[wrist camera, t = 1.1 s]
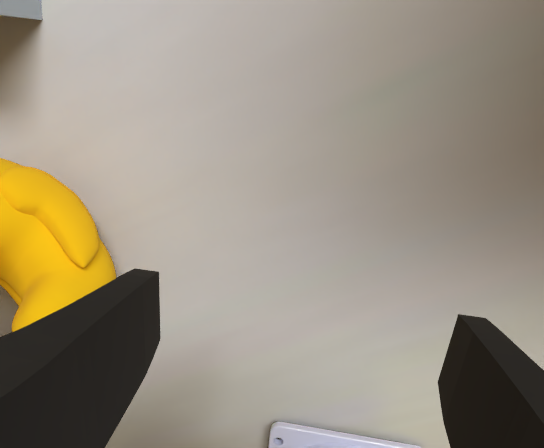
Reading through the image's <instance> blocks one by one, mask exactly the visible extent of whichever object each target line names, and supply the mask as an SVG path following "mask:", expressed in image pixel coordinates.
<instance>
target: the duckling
mask: <svg viewBox="0 0 544 448" xmlns="http://www.w3.org/2000/svg"><path fill="white" fill-rule="evenodd" d="M114 279H116V272H115V268H114V265H113V262H112V259H111V256H110V254H109V252H108V251H107V249H106V247H105V246H104V244H103V243H102V241H101V240H100V238H99V236H98V231H97V228H96V225H95V223H94V221H93V219H92V217H91V215H90V213H89V212H88V210H87V208H86V207H85V206H84V204H83V203H82V201H81V200H80V199H79V197H78V196H77V195H76V194H75V193H74V192H73V191H72V190H70V189H69V188H68V187H66V186H65V185H64V184H62V183H61V182H60V181H58V180H57V179H55V178H54V177H53V176H51V175H50V174H48V173H46V172H44V171H42V170H39V169H36V168H32V167H25V166H22V165H19V164H17V163H14V162H11V161H8V160H5V159H2V158H0V285H1V286H2V287H3V288H4V289H5V290H6V291H7V292H8V293H9V294H10V296H11V297H12V298H13V299H14V300H15V302H16V303H17V304H18V306H19V308H18V310H17V312H16V314H15V316H14V319H13V322H12V332H14V331H16V330H19V329H21V328H23V327H25V326H27V325H29V324H31V323H33V322H35V321H37V320H39V319H41V318H43V317H45V316H47V315H49V314H51V313H53V312H55V311H57V310H59V309H61V308H63V307H65V306H67V305H69V304H71V303H73V302H75V301H76V300H78V299H80V298H82V297H84V296H86V295H87V294H89V293H91V292H93V291H95V290H96V289H98V288H100V287H102V286H103V285H105V284H107V283H109V282H111V281H112V280H114Z"/></svg>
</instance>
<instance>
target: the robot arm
mask: <svg viewBox="0 0 544 448" xmlns="http://www.w3.org/2000/svg"><path fill="white" fill-rule="evenodd" d="M159 341H160V305H159V272H155V271H148V270H141V269H133V270H131V271H129V272H127V273H125V274H123V275H121V276H119V277H118V278H116V279H114V280H112V281H111V282H109V283H107V284H105V285H103V286H102V287H100V288H98V289H96V290H95V291H93V292H91V293H89V294H87V295H86V296H84V297H82V298H80V299H78V300H76V301H75V302H73V303H71V304H69V305H67V306H65V307H63V308H61V309H59V310H57V311H55V312H53V313H51V314H49V315H47V316H45V317H43V318H41V319H39V320H37V321H35V322H33V323H31V324H29V325H27V326H25V327H23V328H21V329H19V330H16V331H14V332H12V333H9V334H7V335H5V336H2V337H0V448H105V446H106V445H107V443H108V441H109V439H110V438H111V436H112V434H113V432H114V431H115V429H116V427H117V425H118V424H119V422H120V420H121V418H122V417H123V415H124V413H125V411H126V410H127V408H128V406H129V404H130V403H131V401H132V399H133V397H134V395H135V394H136V392H137V390H138V388H139V386H140V385H141V383H142V381H143V379H144V377H145V376H146V373H147V371H148V369H149V366H150V364H151V361H152V359H153V357H154V354H155V351H156V349H157V346H158V344H159ZM438 386H439V394H440V401H441V408H442V414H443V421H444V425H445V429H446V433H447V436H448V440H449V443H450V447H451V448H544V370H543V369H542V368H540V367H539V366H538V365H537V364H536V363H535V362H534V361H533V360H532V359H531V358H529V357H528V356H527V355H526V354H525V353H524V352H523V351H522V350H521V349H520V348H519V347H518V346H516V345H515V344H514V343H513V342H512V341H511V340H510V339H509V338H508V337H507V336H506V335H504V334H503V333H502V332H501V331H500V330H499V329H498V328H497V327H496V326H494V325H493V324H492V323H491V322H490V321H488V320H487V319H486V318H481V317H474V316H466V315H459V314H458V317H457V321H456V324H455V327H454V331H453V334H452V337H451V340H450V344H449V347H448V350H447V354H446V357H445V360H444V363H443V367H442V370H441V373H440V377H439V380H438ZM276 438H281V439H282V440H278V439H276ZM268 448H421V447H419V446H416V445H411V444H405V443H400V442H394V441H388V440H382V439H377V438H371V437H365V436H360V435H354V434H348V433H342V432H337V431H331V430H325V429H320V428H314V427H308V426H303V425H297V424H291V423H285V422H275V423H273V424H272V426H271V430H270V437H269V446H268Z"/></svg>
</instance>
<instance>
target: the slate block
mask: <svg viewBox="0 0 544 448" xmlns="http://www.w3.org/2000/svg"><path fill="white" fill-rule="evenodd" d="M0 16H5V17H15V18H26V19H36V20H43V19H42V5H41V0H0Z"/></svg>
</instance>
